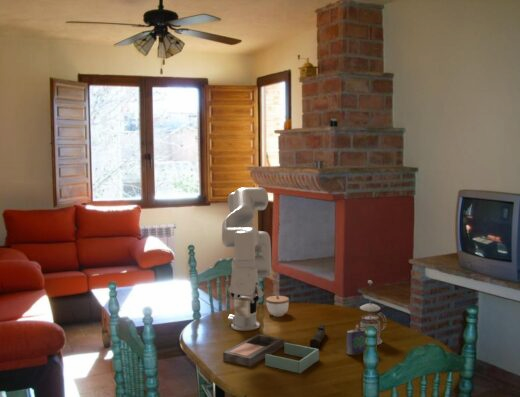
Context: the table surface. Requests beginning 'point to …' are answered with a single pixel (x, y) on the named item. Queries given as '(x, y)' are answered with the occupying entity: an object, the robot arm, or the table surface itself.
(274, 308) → the lidded jar
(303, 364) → the teal open tray
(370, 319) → the french press
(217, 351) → the table surface
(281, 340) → the dark brown shallow tray
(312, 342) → the hand tool
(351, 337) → the flask
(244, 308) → the cube
